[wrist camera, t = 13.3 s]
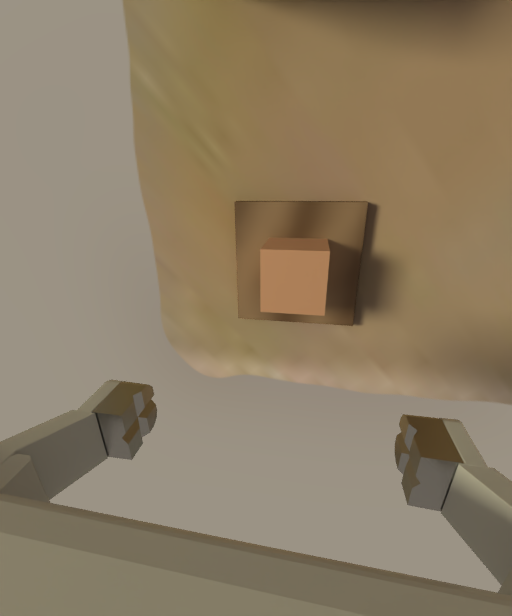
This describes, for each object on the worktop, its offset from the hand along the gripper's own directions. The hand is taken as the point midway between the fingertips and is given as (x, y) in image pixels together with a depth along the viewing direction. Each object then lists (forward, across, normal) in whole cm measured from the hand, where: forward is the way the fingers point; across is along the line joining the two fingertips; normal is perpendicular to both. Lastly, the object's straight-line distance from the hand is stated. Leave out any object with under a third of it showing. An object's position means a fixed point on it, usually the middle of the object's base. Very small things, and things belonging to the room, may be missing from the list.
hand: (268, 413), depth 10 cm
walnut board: (+20, 0, 0) cm, 20 cm away
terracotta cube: (+19, 0, 0) cm, 19 cm away
